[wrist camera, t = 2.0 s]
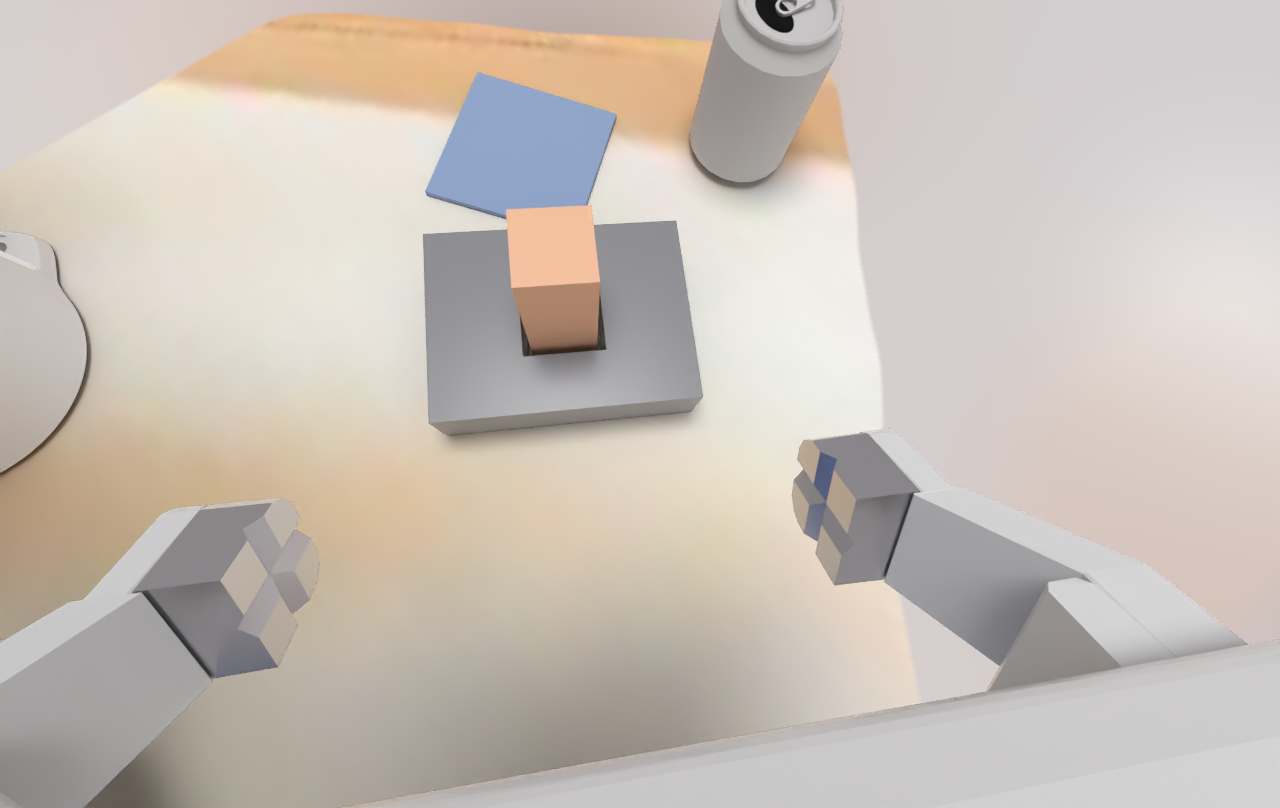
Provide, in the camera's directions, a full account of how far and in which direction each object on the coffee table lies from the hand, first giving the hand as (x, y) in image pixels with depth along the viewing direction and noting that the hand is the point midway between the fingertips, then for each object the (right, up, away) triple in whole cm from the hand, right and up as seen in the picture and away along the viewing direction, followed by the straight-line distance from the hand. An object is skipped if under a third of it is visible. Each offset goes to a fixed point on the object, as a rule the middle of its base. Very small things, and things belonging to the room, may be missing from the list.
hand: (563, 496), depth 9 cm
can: (+9, +22, +32) cm, 40 cm away
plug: (-4, +6, +27) cm, 28 cm away
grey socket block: (-4, +6, +27) cm, 28 cm away
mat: (-7, +20, +30) cm, 37 cm away
